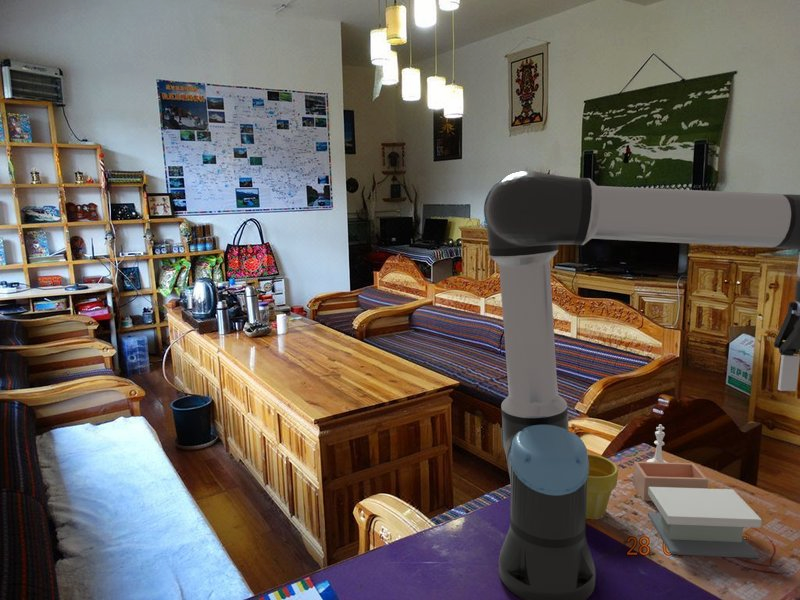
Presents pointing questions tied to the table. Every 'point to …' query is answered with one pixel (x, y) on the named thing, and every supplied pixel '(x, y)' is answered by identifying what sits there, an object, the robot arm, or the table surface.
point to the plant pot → (599, 485)
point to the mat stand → (703, 539)
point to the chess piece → (658, 445)
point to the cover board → (703, 507)
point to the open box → (666, 476)
